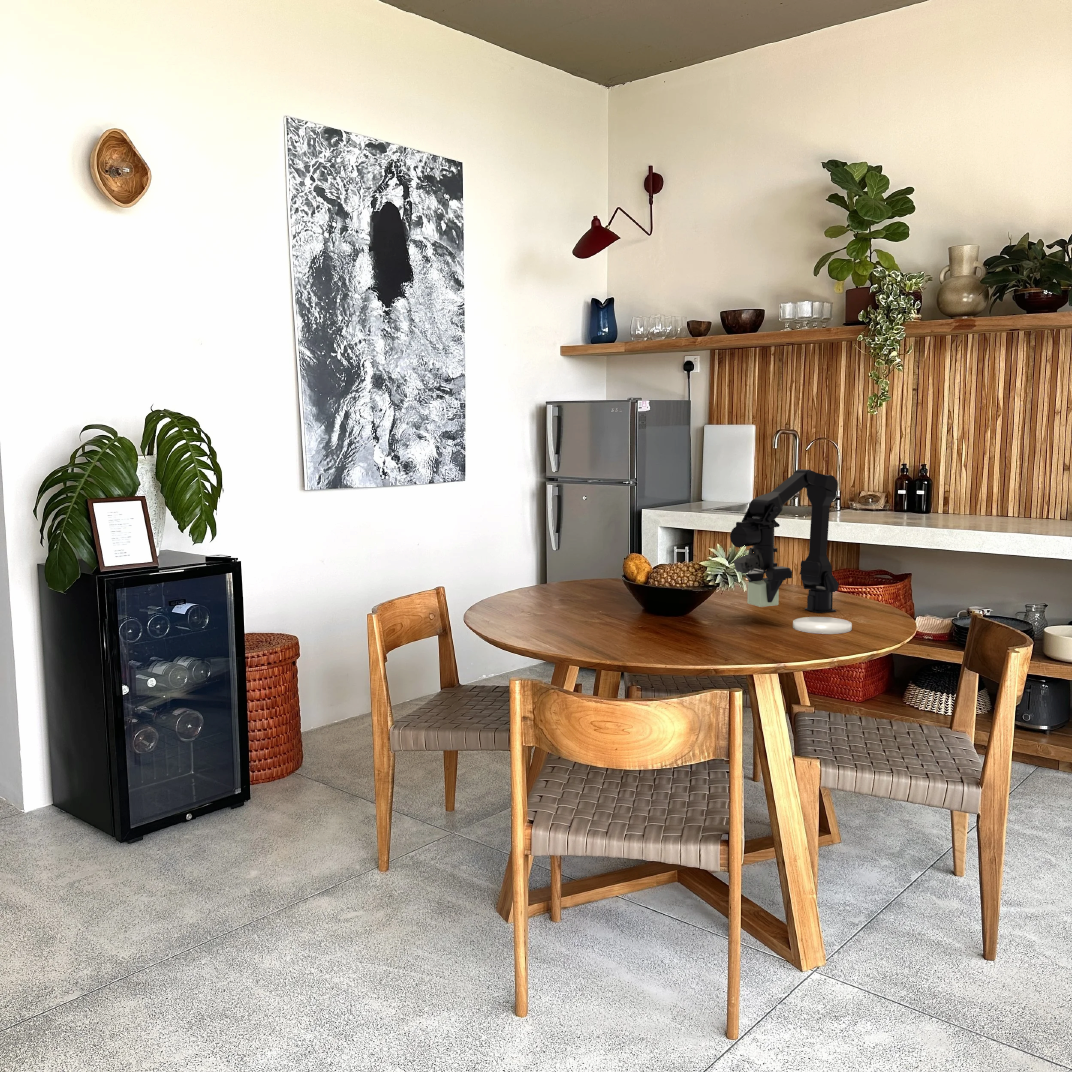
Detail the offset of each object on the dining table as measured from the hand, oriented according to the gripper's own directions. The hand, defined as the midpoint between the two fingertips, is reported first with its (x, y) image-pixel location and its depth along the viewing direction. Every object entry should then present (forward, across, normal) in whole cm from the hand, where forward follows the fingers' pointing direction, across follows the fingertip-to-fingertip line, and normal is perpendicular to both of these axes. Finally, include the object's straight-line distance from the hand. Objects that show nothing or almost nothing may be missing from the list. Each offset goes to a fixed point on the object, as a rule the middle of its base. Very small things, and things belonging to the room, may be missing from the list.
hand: (762, 600), depth 268 cm
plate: (+6, +14, +9) cm, 18 cm away
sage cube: (+1, 0, 0) cm, 1 cm away
